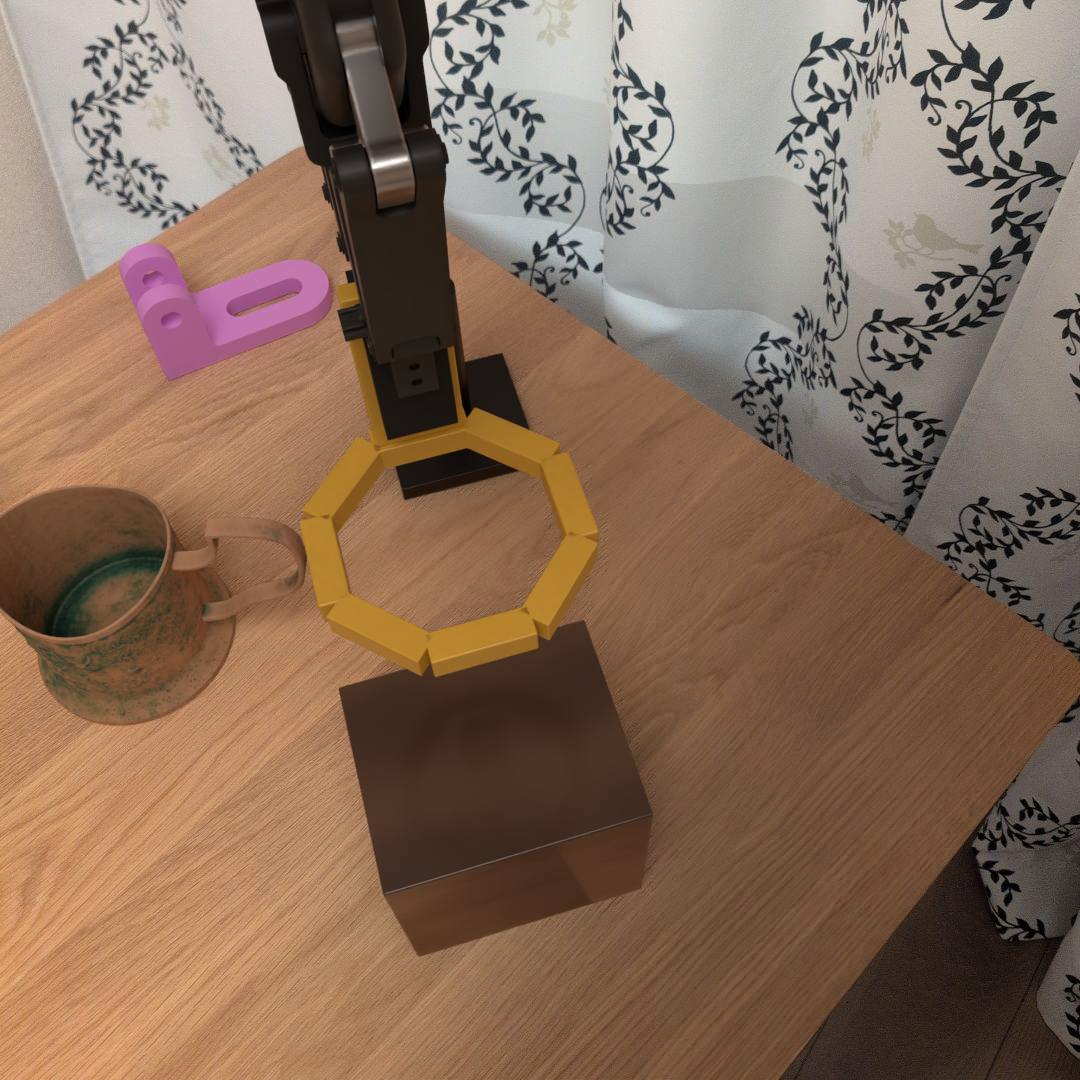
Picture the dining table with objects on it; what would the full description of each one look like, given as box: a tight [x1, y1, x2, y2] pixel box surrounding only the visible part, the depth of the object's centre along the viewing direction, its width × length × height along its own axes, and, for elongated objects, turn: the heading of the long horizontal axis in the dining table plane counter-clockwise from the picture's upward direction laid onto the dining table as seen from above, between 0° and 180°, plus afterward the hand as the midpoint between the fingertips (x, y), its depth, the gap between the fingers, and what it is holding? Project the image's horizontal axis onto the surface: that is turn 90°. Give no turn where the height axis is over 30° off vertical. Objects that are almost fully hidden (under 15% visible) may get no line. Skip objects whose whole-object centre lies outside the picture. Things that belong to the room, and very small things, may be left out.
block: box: [338, 619, 654, 957], centre depth 57 cm, size 10×12×12 cm
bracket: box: [118, 243, 333, 382], centre depth 79 cm, size 13×6×7 cm, turn 117°
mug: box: [0, 483, 308, 727], centre depth 64 cm, size 12×18×12 cm, turn 90°
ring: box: [299, 282, 600, 677], centre depth 39 cm, size 10×10×9 cm
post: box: [394, 277, 531, 501], centre depth 70 cm, size 9×9×13 cm
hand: (416, 407), depth 43 cm, fingers closed on ring
